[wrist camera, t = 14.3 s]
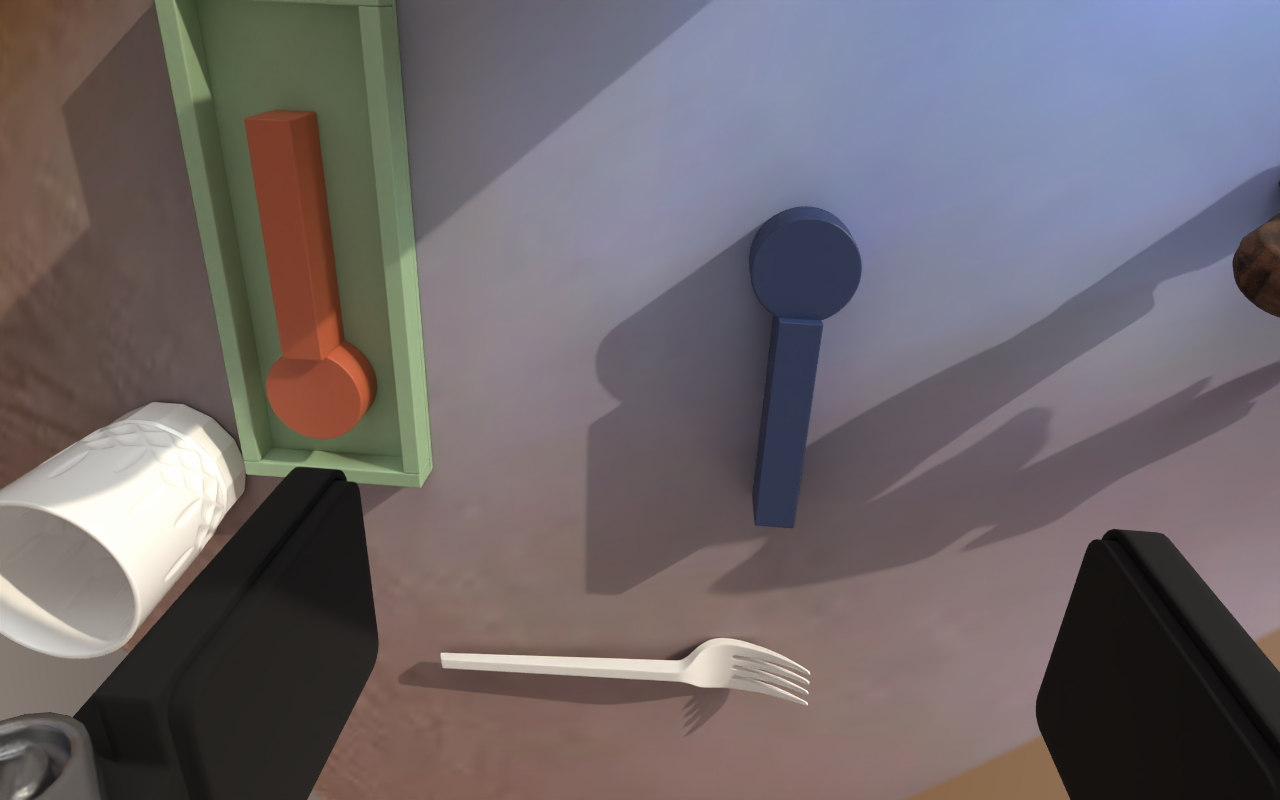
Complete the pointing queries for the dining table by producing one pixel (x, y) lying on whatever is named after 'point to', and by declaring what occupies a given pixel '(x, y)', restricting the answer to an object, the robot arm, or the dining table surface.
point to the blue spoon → (795, 341)
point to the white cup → (111, 528)
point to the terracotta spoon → (304, 282)
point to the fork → (659, 667)
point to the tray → (357, 203)
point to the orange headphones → (1260, 266)
